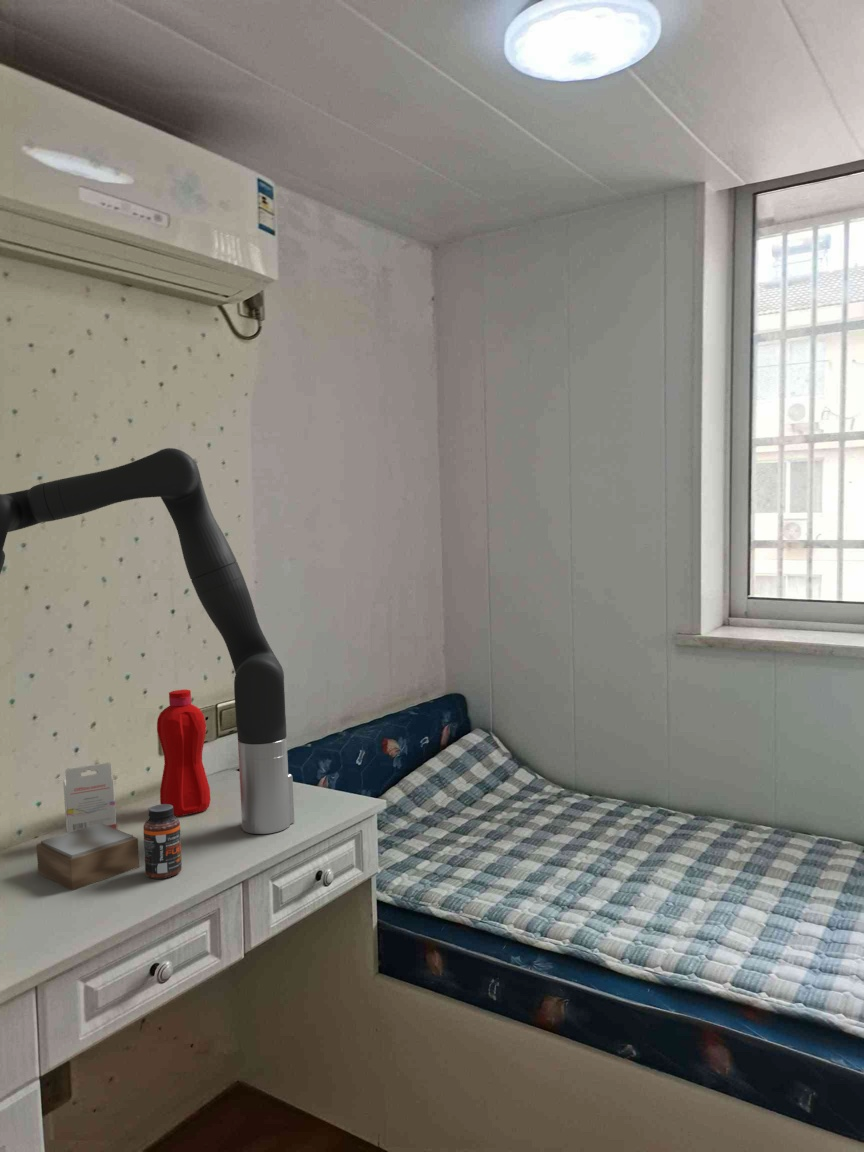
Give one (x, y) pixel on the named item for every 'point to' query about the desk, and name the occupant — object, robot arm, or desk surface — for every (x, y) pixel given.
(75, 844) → the wooden rimmed tray
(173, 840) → the supplement bottle
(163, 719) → the water bottle
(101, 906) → the desk surface
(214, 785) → the desk surface
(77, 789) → the ink cartridge box
